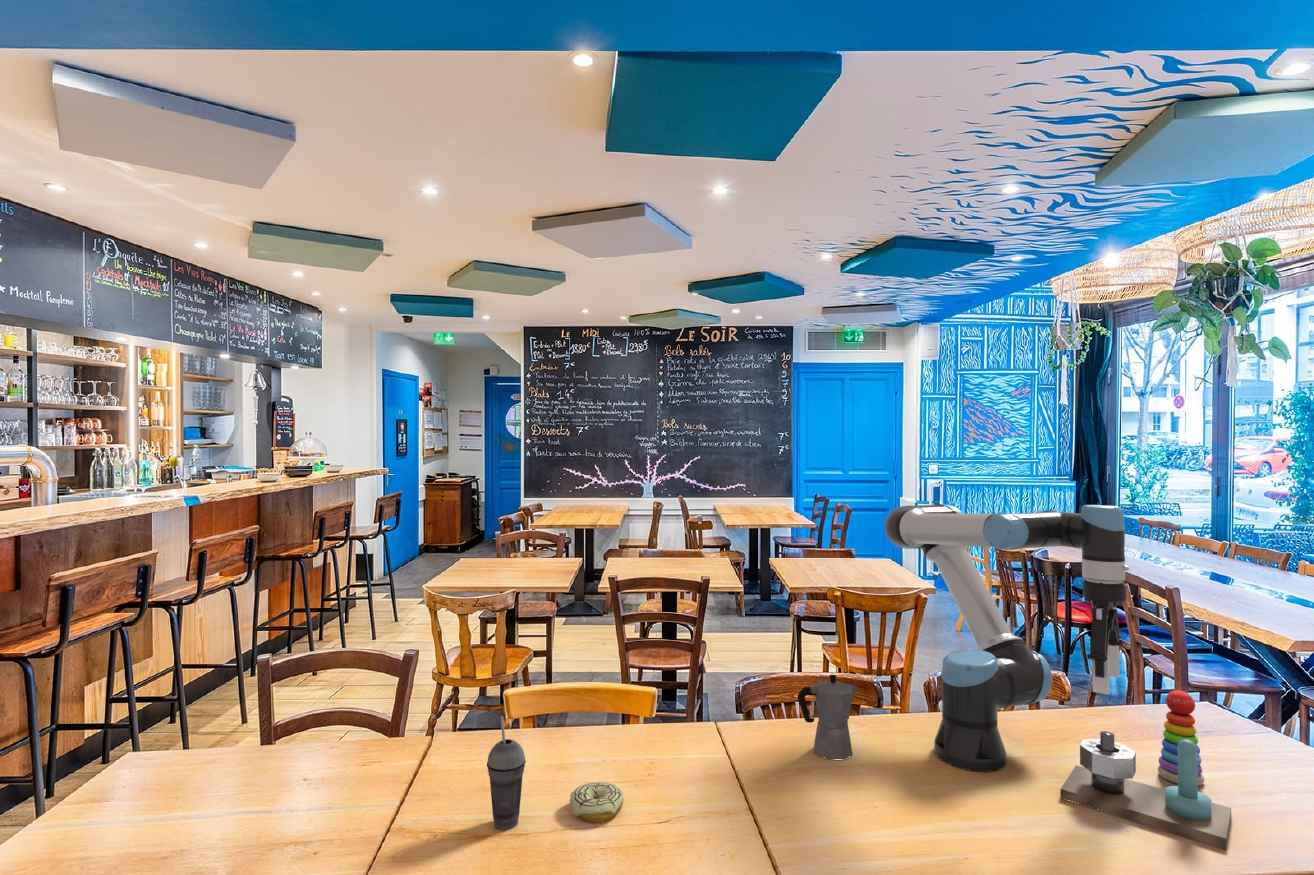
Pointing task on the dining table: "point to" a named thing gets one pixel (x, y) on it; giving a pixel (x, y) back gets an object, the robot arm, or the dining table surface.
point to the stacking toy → (1177, 734)
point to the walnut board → (1147, 808)
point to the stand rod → (1101, 781)
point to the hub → (1188, 787)
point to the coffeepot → (830, 717)
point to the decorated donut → (596, 802)
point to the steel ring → (1108, 760)
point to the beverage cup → (506, 781)
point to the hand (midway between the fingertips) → (1106, 684)
